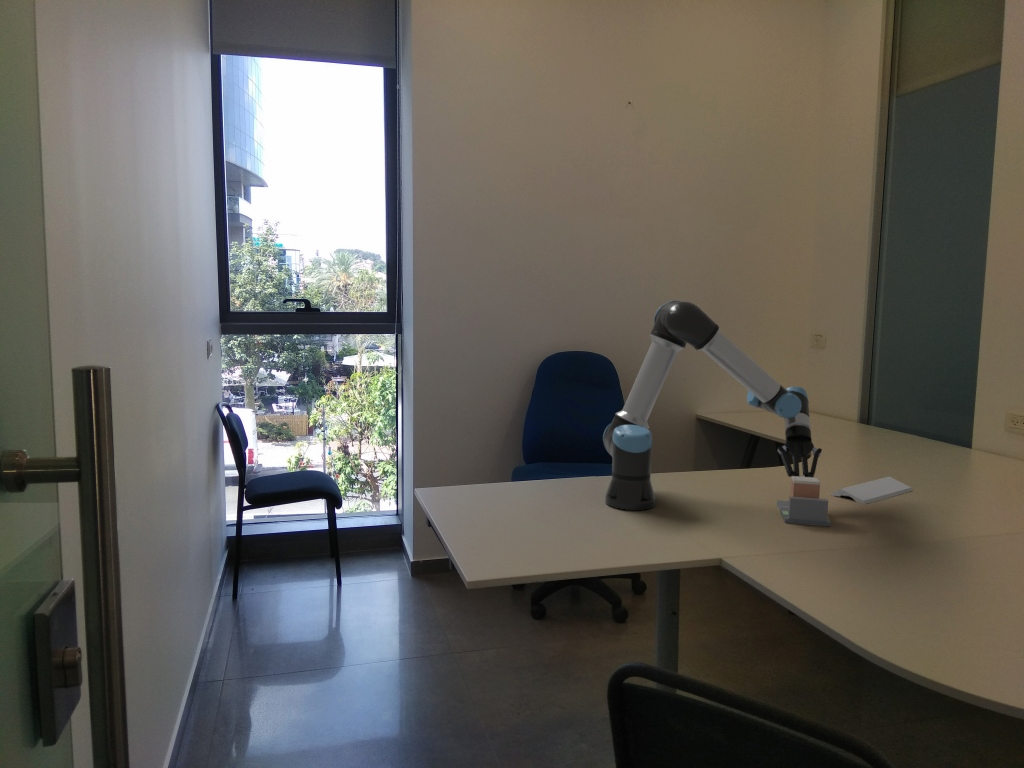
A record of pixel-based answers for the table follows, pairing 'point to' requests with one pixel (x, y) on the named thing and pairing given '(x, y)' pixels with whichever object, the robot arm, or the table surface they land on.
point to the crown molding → (874, 490)
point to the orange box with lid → (805, 487)
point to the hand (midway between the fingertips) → (802, 496)
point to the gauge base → (805, 511)
